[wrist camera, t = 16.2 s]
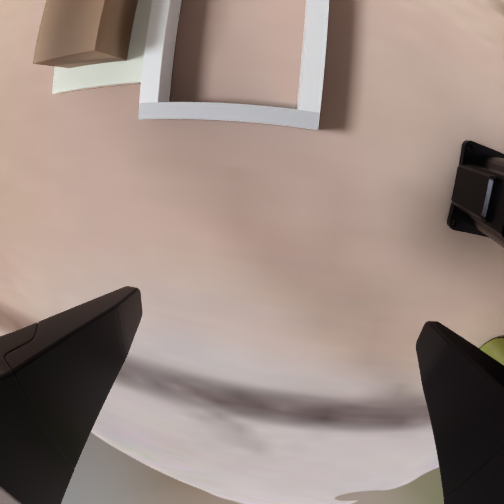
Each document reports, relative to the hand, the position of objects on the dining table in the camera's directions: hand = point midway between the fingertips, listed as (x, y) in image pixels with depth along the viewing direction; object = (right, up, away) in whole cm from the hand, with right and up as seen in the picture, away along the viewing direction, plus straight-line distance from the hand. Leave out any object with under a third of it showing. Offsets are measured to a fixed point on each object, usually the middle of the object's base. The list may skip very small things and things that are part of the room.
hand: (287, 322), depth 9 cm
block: (-11, +17, +6) cm, 21 cm away
